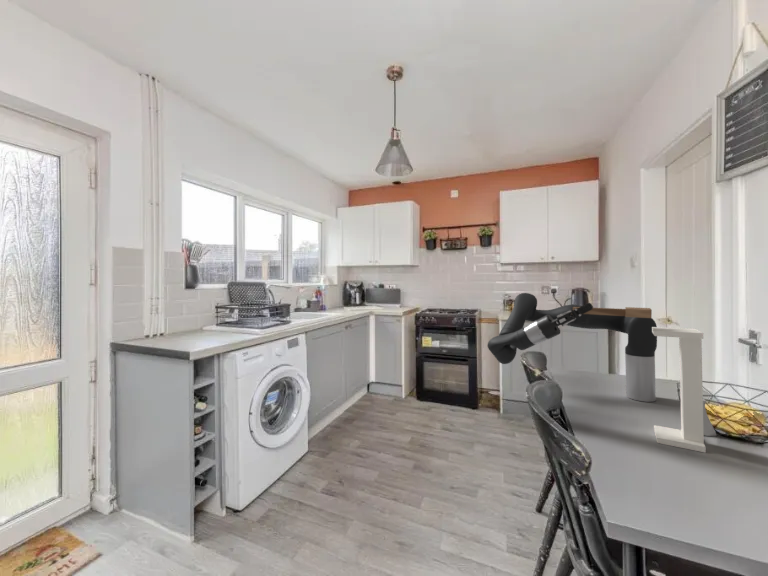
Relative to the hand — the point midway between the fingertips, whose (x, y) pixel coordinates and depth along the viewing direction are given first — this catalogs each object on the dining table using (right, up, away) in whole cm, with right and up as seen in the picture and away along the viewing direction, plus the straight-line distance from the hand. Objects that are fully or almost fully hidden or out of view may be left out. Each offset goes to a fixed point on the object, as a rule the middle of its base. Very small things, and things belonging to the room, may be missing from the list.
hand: (591, 305), depth 105 cm
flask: (+29, -38, -6) cm, 49 cm away
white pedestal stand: (+18, -38, -11) cm, 44 cm away
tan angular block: (+5, -3, -3) cm, 7 cm away
